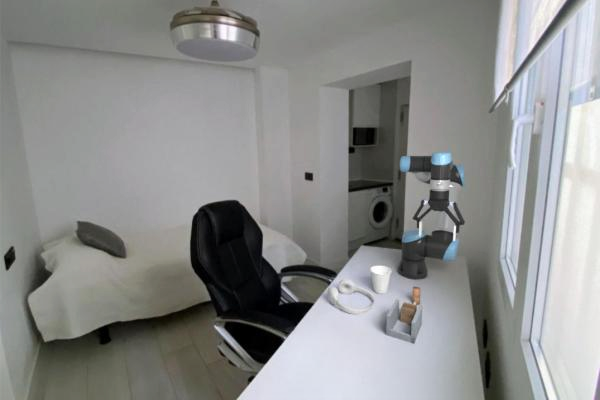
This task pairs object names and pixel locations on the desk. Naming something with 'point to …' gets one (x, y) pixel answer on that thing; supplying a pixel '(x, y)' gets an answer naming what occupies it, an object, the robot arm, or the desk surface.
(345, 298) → the desk surface
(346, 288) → the headphones
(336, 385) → the desk surface
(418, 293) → the tethered block
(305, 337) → the desk surface
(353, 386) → the desk surface
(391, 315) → the lane
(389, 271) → the cup
